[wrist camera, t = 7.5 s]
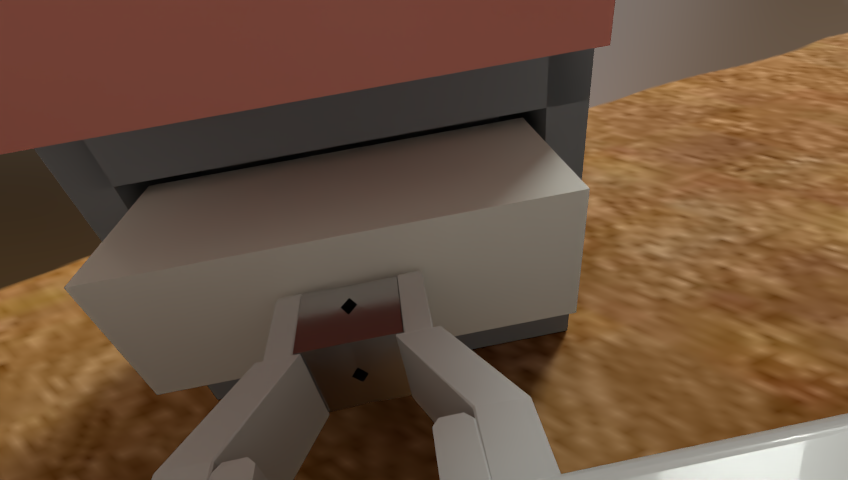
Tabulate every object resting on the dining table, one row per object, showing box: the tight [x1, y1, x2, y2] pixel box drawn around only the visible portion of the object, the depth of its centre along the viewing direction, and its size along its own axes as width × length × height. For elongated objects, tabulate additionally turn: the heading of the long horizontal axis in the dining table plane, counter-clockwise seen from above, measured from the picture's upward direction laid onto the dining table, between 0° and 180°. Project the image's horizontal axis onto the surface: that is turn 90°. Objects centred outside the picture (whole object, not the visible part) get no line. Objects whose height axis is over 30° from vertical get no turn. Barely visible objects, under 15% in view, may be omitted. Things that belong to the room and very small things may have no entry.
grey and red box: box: [34, 48, 594, 399], centre depth 13 cm, size 7×13×16 cm, turn 98°
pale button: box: [64, 117, 590, 395], centre depth 11 cm, size 4×10×3 cm, turn 98°
